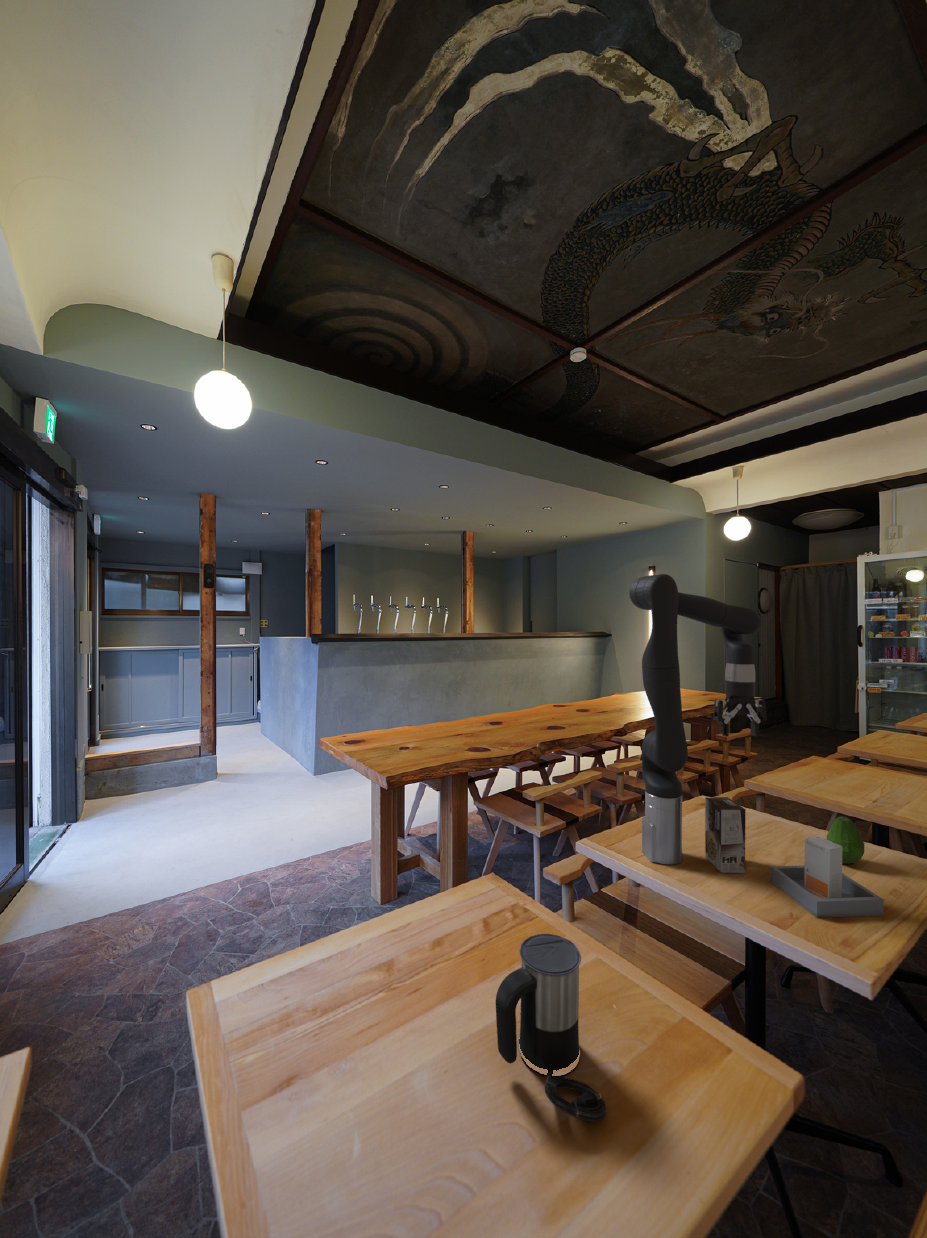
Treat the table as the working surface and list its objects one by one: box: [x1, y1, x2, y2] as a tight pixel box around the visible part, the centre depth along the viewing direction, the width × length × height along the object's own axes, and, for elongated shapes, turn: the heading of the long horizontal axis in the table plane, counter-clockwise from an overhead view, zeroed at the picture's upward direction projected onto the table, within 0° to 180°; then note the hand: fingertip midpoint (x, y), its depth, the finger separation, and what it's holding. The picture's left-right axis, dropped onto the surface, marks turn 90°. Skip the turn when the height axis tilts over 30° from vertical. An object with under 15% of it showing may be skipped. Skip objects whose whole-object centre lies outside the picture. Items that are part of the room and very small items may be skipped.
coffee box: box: [704, 796, 747, 874], centre depth 132 cm, size 9×6×16 cm
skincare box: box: [804, 835, 843, 899], centre depth 116 cm, size 6×4×12 cm
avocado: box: [826, 816, 865, 865], centre depth 133 cm, size 8×8×12 cm
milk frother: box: [495, 933, 607, 1122], centre depth 72 cm, size 14×16×15 cm
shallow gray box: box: [769, 865, 884, 919], centre depth 117 cm, size 15×15×4 cm
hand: (739, 736), depth 145 cm, fingers open, 8 cm apart
